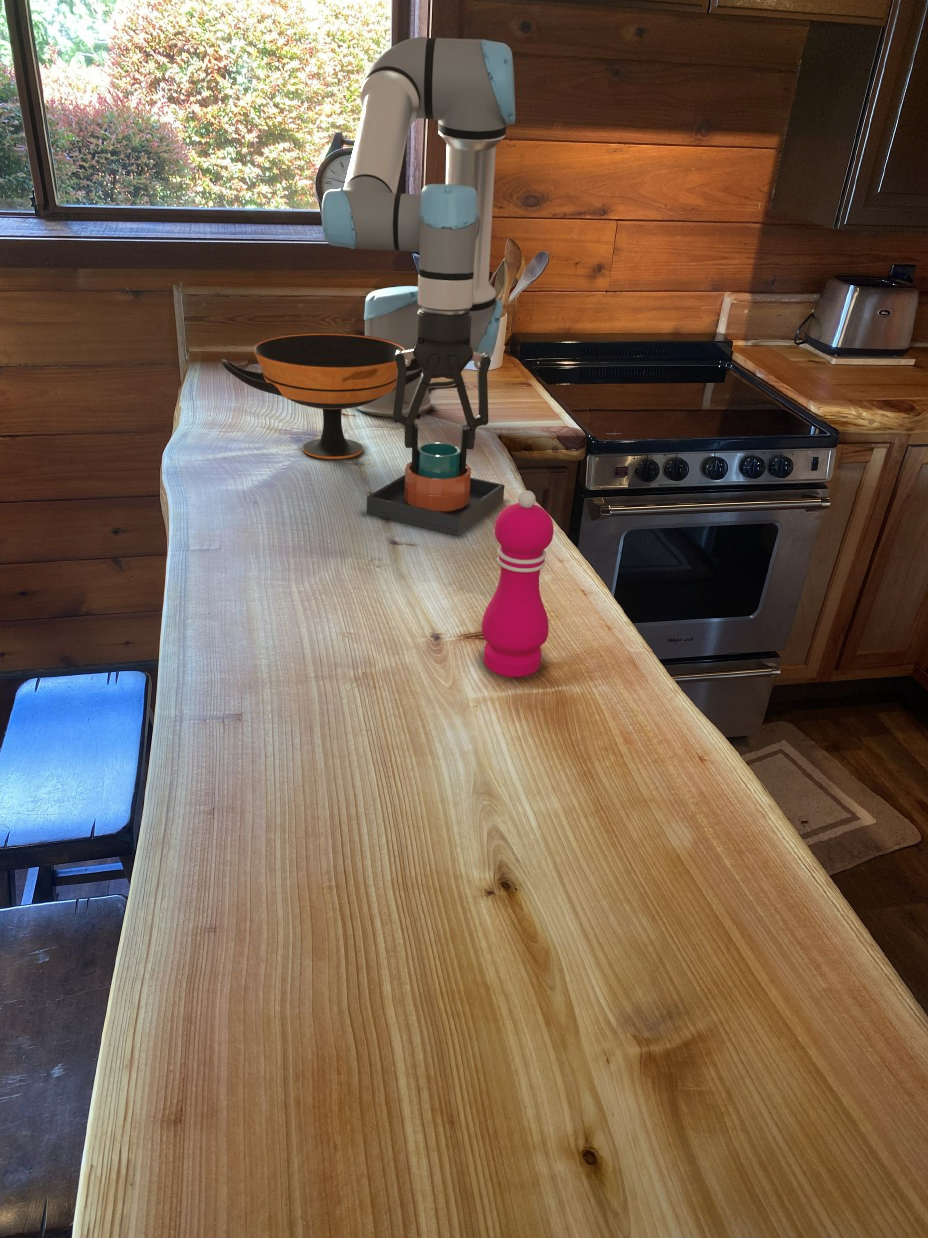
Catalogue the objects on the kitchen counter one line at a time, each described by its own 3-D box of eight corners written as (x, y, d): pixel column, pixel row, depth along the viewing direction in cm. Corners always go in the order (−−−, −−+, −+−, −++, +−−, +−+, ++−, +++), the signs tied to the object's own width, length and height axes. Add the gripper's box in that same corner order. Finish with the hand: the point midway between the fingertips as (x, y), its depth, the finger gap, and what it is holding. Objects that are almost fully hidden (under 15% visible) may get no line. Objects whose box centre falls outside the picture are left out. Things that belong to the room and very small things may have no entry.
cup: (241, 482, 143) (233, 370, 134) (218, 434, 163) (210, 335, 155) (453, 465, 155) (458, 362, 147) (407, 423, 176) (409, 330, 167)
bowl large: (423, 486, 143) (425, 453, 140) (479, 499, 140) (481, 465, 137) (393, 506, 135) (393, 471, 133) (451, 519, 132) (453, 484, 129)
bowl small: (429, 467, 139) (430, 439, 137) (466, 476, 137) (468, 447, 135) (409, 480, 134) (409, 450, 132) (447, 488, 132) (448, 459, 130)
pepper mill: (499, 686, 95) (514, 508, 85) (467, 653, 100) (478, 483, 91) (557, 672, 98) (578, 499, 88) (523, 640, 103) (539, 475, 94)
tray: (418, 482, 147) (418, 466, 146) (503, 501, 142) (504, 484, 140) (366, 514, 134) (366, 496, 133) (457, 536, 129) (458, 518, 127)
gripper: (511, 306, 128) (500, 462, 139) (374, 301, 126) (373, 458, 137) (518, 317, 121) (505, 479, 133) (373, 311, 120) (372, 475, 131)
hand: (438, 468), depth 135 cm, fingers closed on bowl small, 6 cm apart
